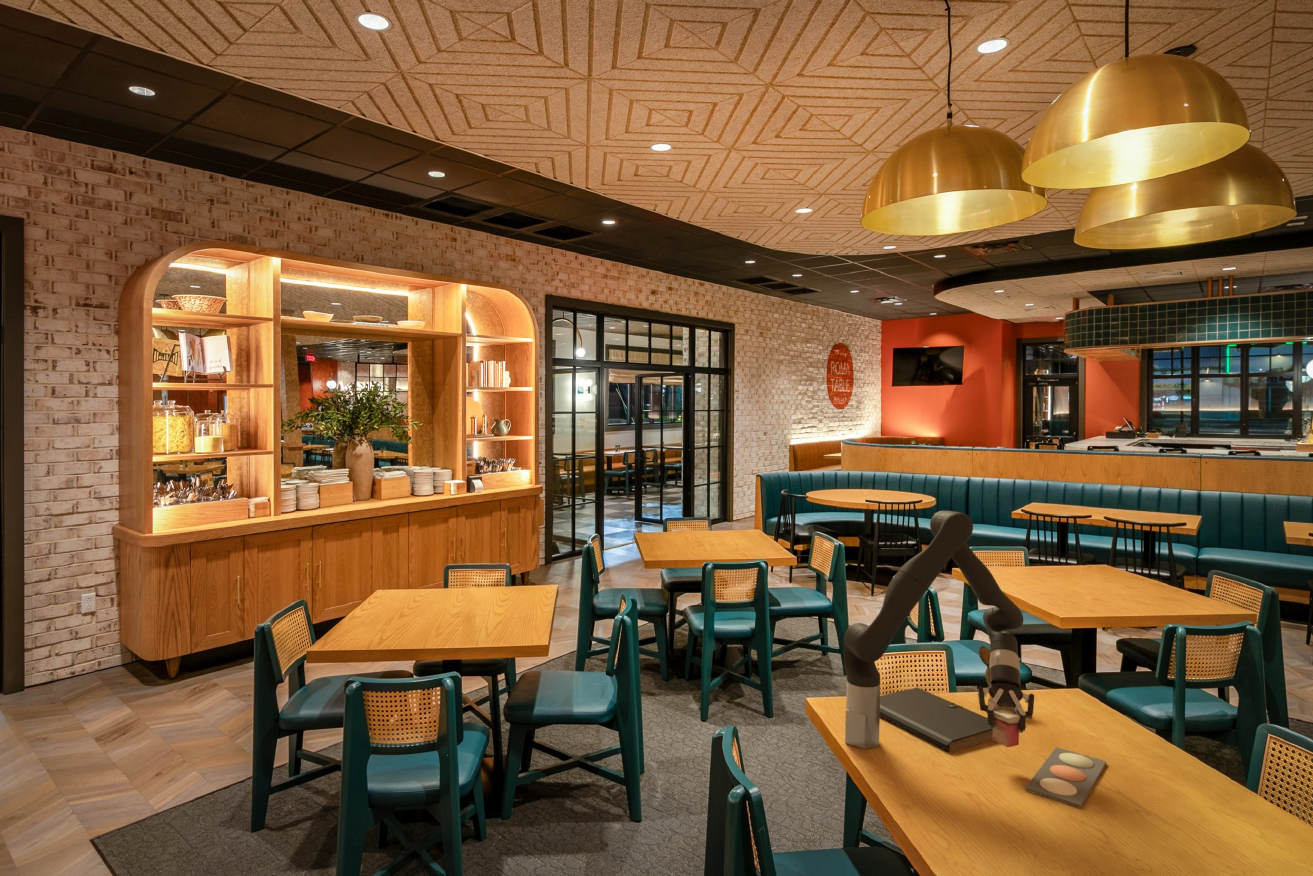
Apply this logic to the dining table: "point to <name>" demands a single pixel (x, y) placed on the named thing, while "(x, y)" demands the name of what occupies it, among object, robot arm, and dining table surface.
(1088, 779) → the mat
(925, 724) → the file folder
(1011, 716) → the small box
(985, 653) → the wooden mug
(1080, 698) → the dining table surface
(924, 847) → the dining table surface
